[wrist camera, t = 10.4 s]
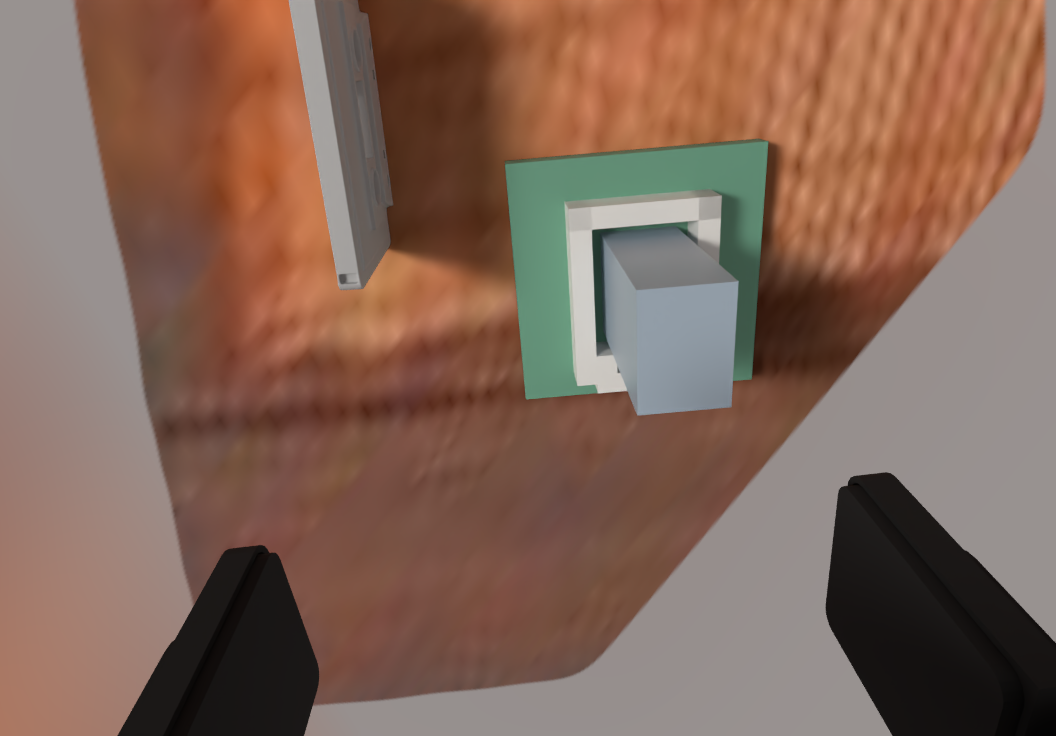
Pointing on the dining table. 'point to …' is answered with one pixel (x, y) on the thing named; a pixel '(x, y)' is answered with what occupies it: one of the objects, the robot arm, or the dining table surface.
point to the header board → (616, 205)
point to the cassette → (346, 132)
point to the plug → (668, 320)
